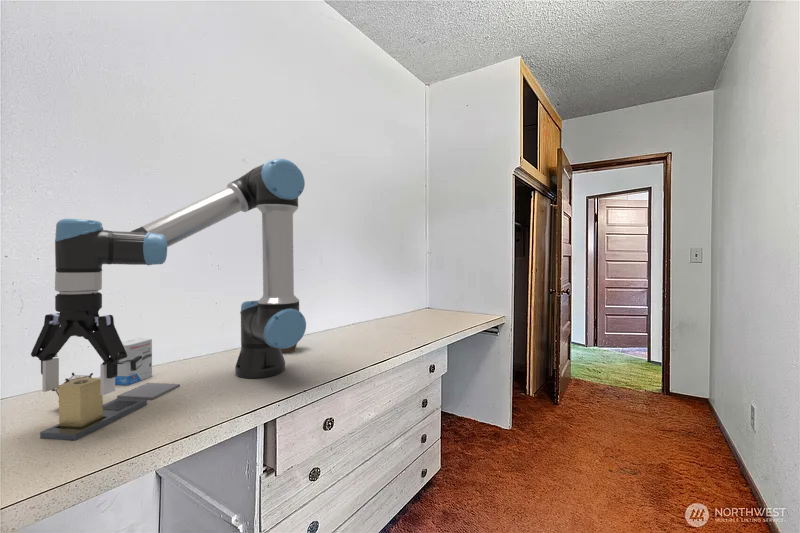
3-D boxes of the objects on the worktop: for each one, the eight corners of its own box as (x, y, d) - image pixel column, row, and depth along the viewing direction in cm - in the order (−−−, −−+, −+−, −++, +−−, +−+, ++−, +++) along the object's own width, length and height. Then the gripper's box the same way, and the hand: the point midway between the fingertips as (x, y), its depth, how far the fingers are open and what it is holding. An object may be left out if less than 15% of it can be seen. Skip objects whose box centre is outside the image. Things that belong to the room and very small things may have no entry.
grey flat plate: (146, 404, 91) (146, 399, 91) (75, 440, 73) (75, 434, 73) (117, 403, 92) (117, 398, 92) (40, 438, 74) (40, 431, 74)
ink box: (127, 385, 105) (127, 344, 104) (113, 384, 106) (112, 344, 105) (153, 376, 113) (152, 338, 113) (140, 375, 114) (139, 337, 114)
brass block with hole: (102, 423, 81) (102, 378, 81) (80, 434, 76) (80, 386, 76) (82, 422, 82) (81, 377, 81) (59, 432, 77) (58, 385, 76)
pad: (179, 386, 104) (179, 384, 104) (152, 399, 94) (152, 397, 94) (147, 384, 105) (147, 382, 105) (117, 397, 96) (117, 395, 96)
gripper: (147, 292, 81) (146, 388, 81) (46, 289, 83) (45, 382, 84) (117, 295, 73) (116, 401, 73) (7, 292, 76) (7, 394, 76)
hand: (79, 391), depth 78 cm, fingers open, 13 cm apart
